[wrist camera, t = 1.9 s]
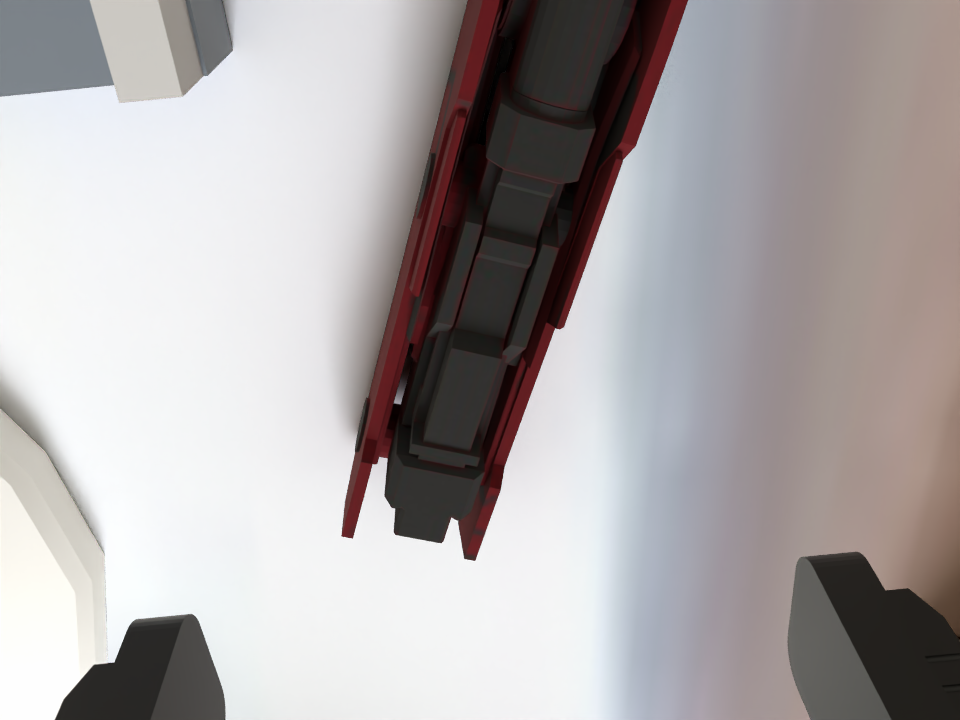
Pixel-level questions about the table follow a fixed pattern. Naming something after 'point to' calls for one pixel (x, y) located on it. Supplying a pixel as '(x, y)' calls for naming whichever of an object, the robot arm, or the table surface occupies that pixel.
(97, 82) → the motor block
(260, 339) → the table surface
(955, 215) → the table surface
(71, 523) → the decorative plate
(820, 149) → the table surface
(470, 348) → the mechanical component
